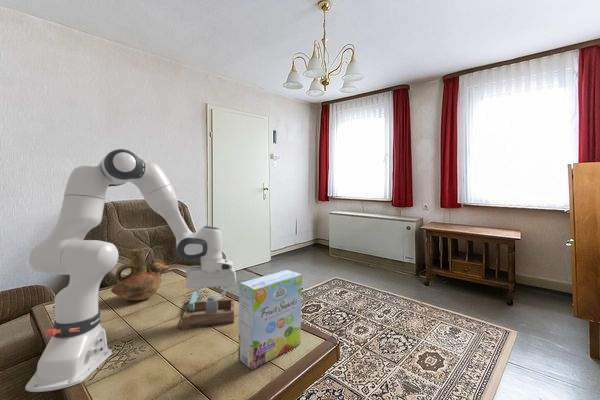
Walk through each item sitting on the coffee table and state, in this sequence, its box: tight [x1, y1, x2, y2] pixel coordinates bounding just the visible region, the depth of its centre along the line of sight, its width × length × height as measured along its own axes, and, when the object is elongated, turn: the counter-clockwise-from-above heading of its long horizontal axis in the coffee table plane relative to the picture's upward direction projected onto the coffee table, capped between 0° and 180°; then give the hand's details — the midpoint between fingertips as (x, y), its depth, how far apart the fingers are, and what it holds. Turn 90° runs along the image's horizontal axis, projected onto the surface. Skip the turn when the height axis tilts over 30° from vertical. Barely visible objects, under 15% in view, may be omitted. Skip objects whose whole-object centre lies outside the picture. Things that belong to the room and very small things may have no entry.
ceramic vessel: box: [110, 248, 171, 302], centre depth 142 cm, size 17×26×25 cm, turn 123°
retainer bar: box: [189, 291, 198, 311], centre depth 133 cm, size 14×2×3 cm, turn 13°
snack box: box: [237, 269, 303, 371], centre depth 96 cm, size 22×9×26 cm, turn 136°
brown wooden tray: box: [178, 297, 235, 331], centre depth 128 cm, size 30×21×4 cm
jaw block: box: [205, 295, 219, 313], centre depth 122 cm, size 4×4×8 cm
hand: (211, 297), depth 120 cm, fingers open, 8 cm apart
